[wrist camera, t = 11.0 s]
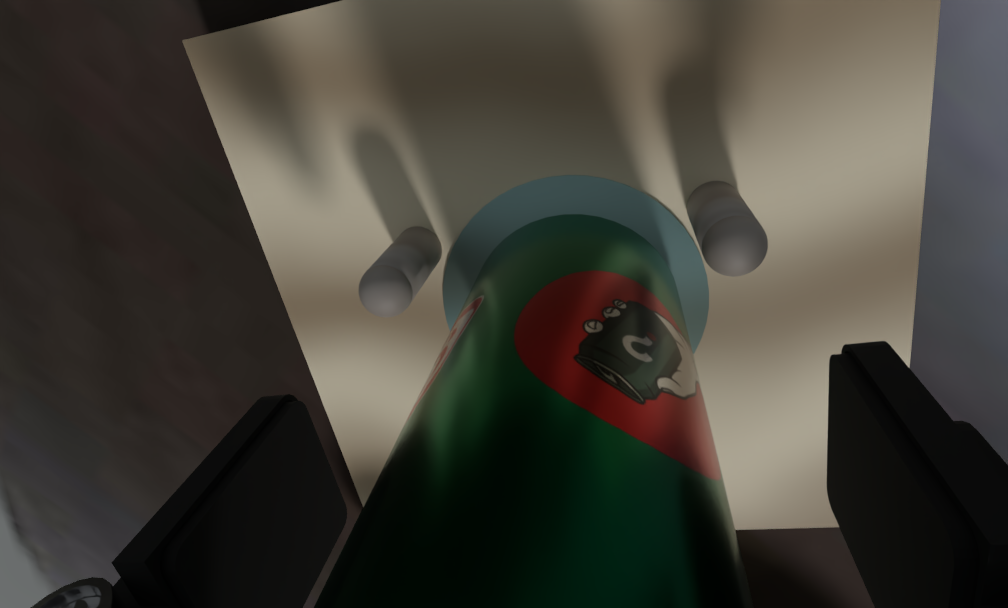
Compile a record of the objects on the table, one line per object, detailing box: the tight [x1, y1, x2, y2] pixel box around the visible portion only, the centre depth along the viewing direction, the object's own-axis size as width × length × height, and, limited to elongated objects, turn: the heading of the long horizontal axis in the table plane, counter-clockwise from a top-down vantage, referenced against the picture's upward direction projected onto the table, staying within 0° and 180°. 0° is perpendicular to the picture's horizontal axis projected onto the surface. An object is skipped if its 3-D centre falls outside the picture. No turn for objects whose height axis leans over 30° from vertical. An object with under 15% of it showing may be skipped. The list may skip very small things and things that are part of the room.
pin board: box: [182, 0, 941, 530], centre depth 15 cm, size 16×16×5 cm
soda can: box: [314, 214, 754, 608], centre depth 10 cm, size 5×5×12 cm
